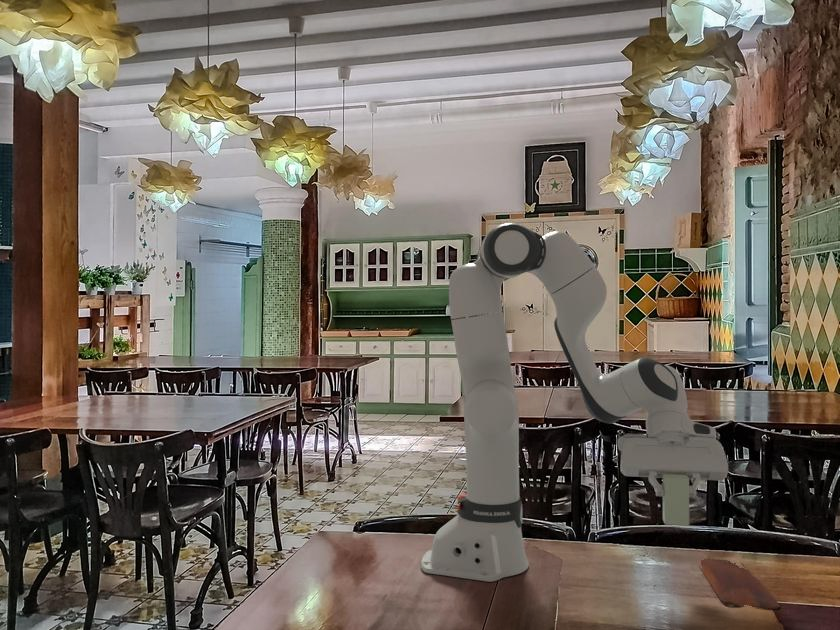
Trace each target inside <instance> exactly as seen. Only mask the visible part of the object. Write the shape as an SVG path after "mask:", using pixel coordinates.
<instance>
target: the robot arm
mask: <svg viewBox="0 0 840 630" xmlns="http://www.w3.org/2000/svg"><path fill="white" fill-rule="evenodd" d="M476 255H477V256H476V258H475V260H474V261H473V262H469V263H465V264H462V265H460V266H459V267H456V268H455V269H454V270H453V271H452V272H451V274H450V276H449V279H448V281H449V283H448V302H449V315H450V321H451V328H452V332H453V340H454V345H455V353H456V359H457V364H458V368H459V373H460V378H461V384H462V389H463V396H464V407H463V418H464V421H463V422H464V442H465V444H464V447H465V466H466V467H465V469H466V473H465V474H466V476H465V477H466V479H465V480H466V493H462V494H460V495H459V496H458V498H457V504H456V505H457V507H456V508H457V515H455V516H454V517H453V518H451V519H450V520H449V521H448V522H447V523H445V524H444V525H442V527H440V528H439V529H438V530H437V532H436V533H435V535H434V537H433V539H432V540H433V541H432V547H431V549H429V550H427V551H426V552H425V554H424V555H423V556H422V559H421V564H420V567H421V568H420V569H421V570H422V571H423V572H424V573H426V574H433V575H440V576H448V577H454V578H461V579H468V580H475V581H480V582H490V583H491V582H495V581H499V580H500V579H503V578H507V577H512V576H515V575H519V574H521V573H524V572H525V571H527V570H528V568H529V565H530V564H529V561H528V558H527V555H526V551H525V544H524V539H523V532H522V524H523V504H522V498H521V497H520V476H519V475H520V467H519V465H520V462H519V459H520V457H519V454H520V450H519V449H520V445H519V444H520V437H519V436H520V434H519V433H520V431H519V430H520V429H519V428H520V425H519V424H520V419H519V417H520V414H519V413H520V412H519V402H518V400H517V396H516V390H515V383H514V378H513V371H512V364H511V357H510V350H509V349H510V348H509V342H508V336H507V330H506V324H505V318H504V317H505V316H504V312H503V311H504V310H503V305H502V301H501V299H502V298H501V288H502V284H503V283H504V282H505V281H507V280H510V279H513V278H517V277H519V276H521V275H523V274H525V273H528V274H532V275H534V276H535V277H536V278H537V279H538V280H539V281H540V282H541V283H542V284H543V286H544V287H545V290H546V291H547V293H548V294H549V296H550V298H551V299H552V302H553V304H554V307H555V312H556V318H555V319H554V322H553V324H554V325H553V326H554V330H555V333H556V336H557V339H558V341H559V344H560V346H561V349H562V351H563V353H564V356H565V358H566V359H567V362H568V364H569V367H570V369H571V371H572V373H573V375H574V377H575V380H576V382H577V384H578V386H579V389H580V392H581V395H582V400H583V403H584V405H585V407H586V410H587V412H588V413H589V414H590V416H591V417H593V418H594V419H596V420H597V421H600V422H602V423H604V424H609V425H611V424H615V423H616V422H618V421H620V420H622V419H624V418H626V417H627V416H629V415H631V414H633V413H636V412H638V411H640V410H642V409H643V410H644V411H645V413H646V418H645V429H646V431H645V432H646V433H625V434H624V435H621V436H619V437H618V439H617V448H618V450H619V452H620V454H621V455H620V472H621V474H622V475H623V476H625V477H637V478H638V477H639V478H648V482H649V483H650V485H651V487H652V488H653V489H655V490H654V491H655V496H656V497H663V496H664V494H665V491H664V485H663V484H660V483H659V481H658V480H657V479H660V478H661V479H663V474H682V475H687V477H688V478H689V480H690V481H691V483H692V485H689V499H690V498H691V499H696V498H697V488H698V486H699V485H700V481H701V480H704V481H723V480H725V479H726V477H727V476H728V472H729V463H728V460H727V455H726V451H725V450H724V447H723V445H722V443H721V442H720V441H719V440H718V439H717V430H716V428H715V427H714V426H710V425H707V424H702V423H699V422H697V421H694V420H691V419H690V416H689V414H688V413H687V412H688V408H689V406H688V405H689V404H688V399H687V394H686V393H687V392H686V389H685V385H684V382H683V379H682V378H681V375H680V374H679V371H678V370H677V369H676V368H674V367H673V366H670V365H666V364H663V363H662V362H660V361H658V360H656V359H654V358H651V357H650V358H649V357H640V358H638V359H636V360H633V361H631V362H629V363H627V364H625V365H622V366H621V367H619V368H618V369H615V370H613V371H611V372H609V373H607V374H602V373H600V372H599V370H598V367H597V364H596V363H595V361H594V358H593V356H592V354H591V352H590V350H589V347H588V345H587V343H586V334H587V329H588V328H589V327H590V325H591V324H592V322H593V321H594V320H595V319H596V317H597V316H598V314H599V313H600V312H601V311H602V309H603V307H604V305H605V302H606V300H607V299H606V298H607V293H608V291H607V285H606V283H605V280H604V278H603V276H602V275H601V273H600V271H599V270H598V268H597V267H596V265H595V264H594V263H593V261H592V260H591V259H590V257H589V256H588V254H587V253H586V252H585V251H584V249H583V248H582V247H581V246H580V244H579V243H577V241H576V240H575V239H574V238H573V237H572V236H570V234H569V233H567V232H565V231H561V230H556V231H551V232H548V233H546V234H544V235H541V234H539V233H538V232H535V231H533V230H531V229H529V228H527V227H526V226H523V225H522V224H521V225H520V224H518V223H514V222H507V223H501V224H499V225H497V226H495V227H494V228H493V229H491V230H490V231H489V232H487V234H486V235H485V236H484V238H483V240H482V242H481V244H480V246H479V249H478V252H477V254H476Z"/></svg>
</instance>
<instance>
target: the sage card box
mask: <svg viewBox="0 0 840 630" xmlns="http://www.w3.org/2000/svg"><path fill="white" fill-rule="evenodd" d="M662 485H664V491H665V494H664V496H662V521H663V524H664V525H668V526H682V527H683V526H685V527H686V526H687V527H690V498H689V486H690V479H689V478H688V477H687V475H682V474H663V478H662Z"/></svg>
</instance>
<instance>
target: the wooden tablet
mask: <svg viewBox="0 0 840 630" xmlns="http://www.w3.org/2000/svg"><path fill="white" fill-rule="evenodd" d="M727 561H728V560H727ZM727 561H726V560H724V561H723V560H719V559H718V560H715V559H714V560H713V559H712V560H711V559H704V560H701V566H702V570H701V572H702V571H703V572H702V573H703V574H704V576H705V578H706V579H707V581H708V582H709V584H710V586H711V588H712V589H713V591H714V592H715V595H716V596H717V599H719V601H721V603H722V604H723V605H724V606H725V607H730V608H743V607H745V606H744V605H747V606H746V607H749V606H752V607H751V608H753V607H758V608H757V609H759V608H768V609H767V610H778V609H779V608H780V604H779V602H778V601H777V599H776V598H775V596H774V595H773V594H772V593H771V591H770V590H769V589H768V588H767V587H766V586H765V584H763V582H761V581H760V580H759V578H757V577H756V576H755V575H754V574H753V573H752V572H751V571H750V570H749V569H748V570H749V571H750V572H751V573H752V574H753V575H754V576H755V577H754V576H753V575H752V574H751V573H750V572H749V571H748V570H746V569H744V568H739V566H737V565H735V564H736V563H734V564H733V563H731V562H730V561H728V562H727ZM756 578H757V579H756ZM768 590H769V591H768ZM748 605H749V606H748Z"/></svg>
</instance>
